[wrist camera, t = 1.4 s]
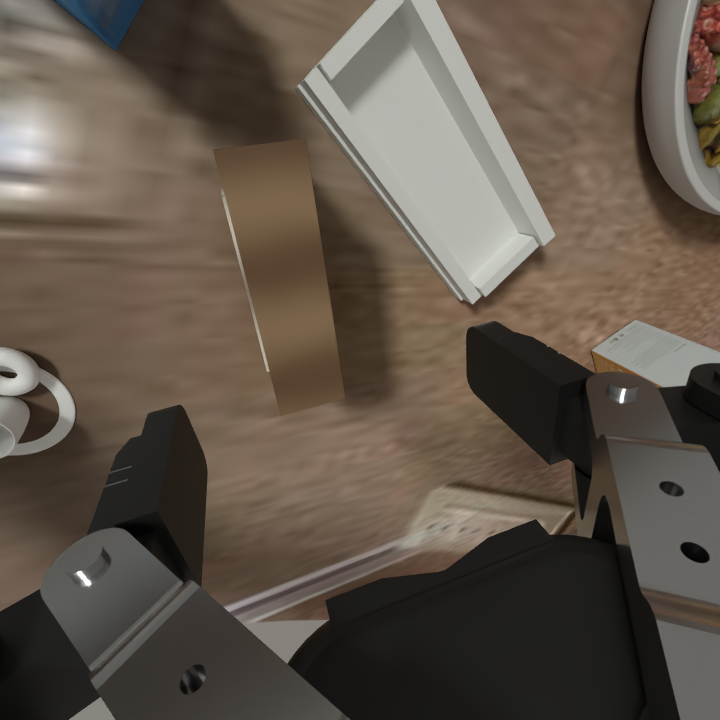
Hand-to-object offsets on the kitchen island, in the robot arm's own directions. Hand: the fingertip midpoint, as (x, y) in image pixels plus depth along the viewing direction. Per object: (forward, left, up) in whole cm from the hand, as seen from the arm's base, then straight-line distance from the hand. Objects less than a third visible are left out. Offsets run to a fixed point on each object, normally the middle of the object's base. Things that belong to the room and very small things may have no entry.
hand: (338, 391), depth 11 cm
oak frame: (0, -1, -21) cm, 21 cm away
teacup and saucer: (-18, +3, -21) cm, 28 cm away
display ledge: (+13, -5, -21) cm, 25 cm away
